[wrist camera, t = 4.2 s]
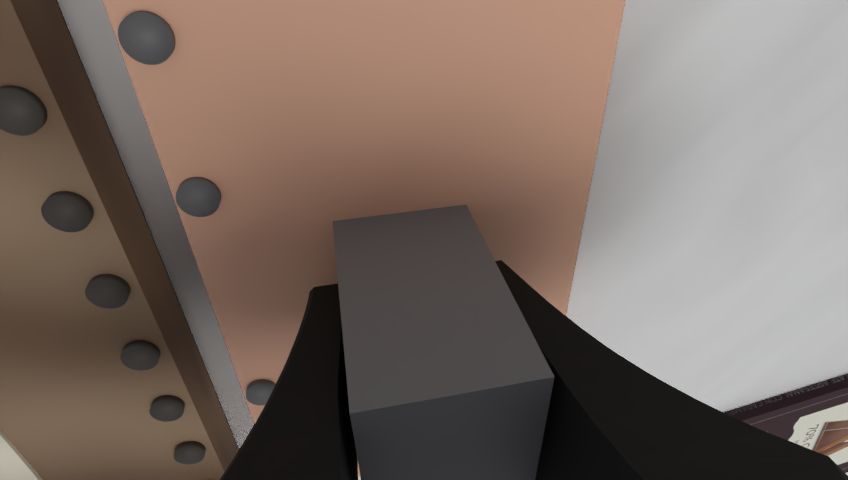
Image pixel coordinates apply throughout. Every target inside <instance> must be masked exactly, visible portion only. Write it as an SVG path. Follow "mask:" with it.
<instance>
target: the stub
mask: <svg viewBox="0 0 848 480" xmlns="http://www.w3.org/2000/svg"><path fill="white" fill-rule="evenodd" d="M103 3H104V6H105V8H106V11H107V14H108V17H109V20H110V22H111V25H112V28H113V31H114V34H115V36H116V39H117V42H118V45H119V47H120V50H121V53H122V56H123V59H124V61H125V64H126V67H127V70H128V73H129V75H130V78H131V81H132V84H133V87H134V89H135V92H136V95H137V98H138V101H139V103H140V106H141V109H142V112H143V115H144V117H145V120H146V123H147V126H148V129H149V131H150V134H151V137H152V140H153V143H154V145H155V148H156V151H157V154H158V157H159V159H160V162H161V165H162V168H163V170H164V173H165V176H166V179H167V182H168V184H169V187H170V190H171V193H172V196H173V198H174V201H175V204H176V207H177V210H178V212H179V215H180V218H181V221H182V224H183V226H184V229H185V232H186V235H187V238H188V240H189V243H190V246H191V249H192V252H193V254H194V257H195V260H196V263H197V266H198V268H199V271H200V274H201V277H202V280H203V282H204V285H205V288H206V291H207V293H208V296H209V299H210V302H211V305H212V307H213V310H214V313H215V316H216V319H217V321H218V324H219V327H220V330H221V333H222V335H223V338H224V341H225V344H226V347H227V349H228V352H229V355H230V358H231V361H232V363H233V366H234V369H235V372H236V375H237V377H238V380H239V383H240V386H241V389H242V391H243V394H244V397H245V400H246V403H247V405H248V408H249V411H250V414H251V416H252V419H253V422H254V424H255V423H256V421H257V419H258V417H259V416H260V414H261V412H262V410H263V408H264V406H265V405H266V403H267V401H268V399H269V397H270V395H271V393H272V391H273V389H274V387H275V385H276V382H277V380H278V378H279V376H280V374H281V372H282V370H283V368H284V366H285V363H286V361H287V359H288V356H289V354H290V351H291V349H292V346H293V344H294V341H295V339H296V336H297V334H298V331H299V328H300V325H301V322H302V319H303V316H304V313H305V309H306V306H307V302H308V297H309V292H310V291H311V290H312V289H313V287H317V286H324V285H331V284H338V289H339V300H340V311H341V322H342V333H343V345H344V356H345V367H346V378H347V390H348V401H349V412H350V419H351V424H352V430H353V436H354V441H355V447H356V453H357V458H358V476H361V480H535V478H536V472H537V467H538V462H539V456H540V451H541V446H542V441H543V435H544V430H545V425H546V419H547V414H548V409H549V404H550V398H551V393H552V388H553V382H554V375H553V373H552V371H551V369H550V367H549V365H548V363H547V361H546V359H545V357H544V355H543V353H542V351H541V350H540V348H539V346H538V344H537V342H536V340H535V338H534V336H533V334H532V332H531V330H530V328H529V326H528V324H527V322H526V320H525V318H524V316H523V315H522V313H521V311H520V309H519V307H518V305H517V303H516V301H515V299H514V297H513V295H512V293H511V291H510V289H509V287H508V285H507V283H506V281H505V279H504V278H503V276H502V274H501V272H500V270H499V268H498V266H497V264H496V262H495V261H498V260H502V261H503V262H504V263H505V264H506V265H508V266H509V267H510V268H511V269H512V270H513V271H514V272H515V273H516V274H518V275H519V276H520V277H521V278H522V279H523V280H524V281H525V282H526V283H528V284H529V285H530V286H531V287H532V288H533V289H534V290H535V291H537V292H538V293H539V294H540V295H541V296H542V297H543V298H545V299H546V300H547V301H548V302H549V303H550V304H552V305H553V306H554V307H555V308H557V309H558V310H559V311H560V312H561V313H563V314H564V315H565V316H566V313H567V307H568V302H569V297H570V291H571V286H572V281H573V276H574V270H575V265H576V260H577V254H578V249H579V244H580V238H581V233H582V228H583V223H584V217H585V212H586V207H587V201H588V196H589V191H590V186H591V180H592V175H593V170H594V164H595V159H596V154H597V149H598V143H599V138H600V133H601V127H602V122H603V117H604V111H605V106H606V101H607V96H608V90H609V85H610V80H611V74H612V69H613V64H614V59H615V53H616V48H617V43H618V37H619V32H620V27H621V22H622V16H623V11H624V6H625V0H103Z"/></svg>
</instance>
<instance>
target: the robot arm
mask: <svg viewBox="0 0 848 480" xmlns="http://www.w3.org/2000/svg"><path fill="white" fill-rule="evenodd" d="M495 262H496V264H497V266H498V268H499V270H500V272H501V274H502V276H503V278H504V279H505V281H506V283H507V285H508V287H509V289H510V291H511V293H512V295H513V297H514V299H515V301H516V303H517V305H518V307H519V309H520V311H521V313H522V315H523V316H524V318H525V320H526V322H527V324H528V326H529V328H530V330H531V332H532V334H533V336H534V338H535V340H536V342H537V344H538V346H539V348H540V350H541V351H542V353H543V355H544V357H545V359H546V361H547V363H548V365H549V367H550V369H551V371H552V373H553V375H554V382H553V388H552V393H551V398H550V404H549V409H548V414H547V419H546V425H545V430H544V435H543V441H542V446H541V451H540V456H539V462H538V467H537V472H536V478H535V480H848V476H847V475H846V474H845V473H844V472H843V471H842V469H841V468H840V467H839V466H838V465H837V464H836V463H835V462H834V461H833V460H832V459H831V458H830V457H829V456H826V455H824V454H821V453H818V452H816V451H813V450H811V449H808V448H806V447H803V446H801V445H798V444H796V443H793V442H791V441H788V440H786V439H783V438H781V437H778V436H775V435H773V434H770V433H768V432H765V431H763V430H761V429H758V428H756V427H754V426H751V425H749V424H747V423H745V422H743V421H740V420H738V419H736V418H734V417H732V416H729V415H727V414H725V413H723V412H721V411H719V410H717V409H714V408H712V407H710V406H708V405H706V404H704V403H702V402H700V401H698V400H696V399H694V398H692V397H690V396H689V395H687V394H685V393H683V392H681V391H679V390H677V389H676V388H674V387H672V386H670V385H668V384H666V383H664V382H663V381H661V380H659V379H657V378H656V377H654V376H652V375H650V374H649V373H647V372H645V371H644V370H642V369H640V368H639V367H637V366H636V365H634V364H633V363H631V362H629V361H628V360H626V359H625V358H623V357H621V356H620V355H618V354H617V353H615V352H614V351H612V350H611V349H609V348H608V347H606V346H605V345H603V344H602V343H601V342H599V341H598V340H596V339H595V338H594V337H592V336H591V335H590V334H588V333H587V332H586V331H584V330H583V329H581V328H580V327H579V326H578V325H576V324H575V323H574V322H572V321H571V320H570V319H569V318H568V317H566V316H565V315H564V314H563V313H561V312H560V311H559V310H558V309H557V308H555V307H554V306H553V305H552V304H550V303H549V302H548V301H547V300H546V299H545V298H543V297H542V296H541V295H540V294H539V293H538V292H537V291H535V290H534V289H533V288H532V287H531V286H530V285H529V284H528V283H526V282H525V281H524V280H523V279H522V278H521V277H520V276H519V275H518V274H516V273H515V272H514V271H513V270H512V269H511V268H510V267H509V266H508V265H506V264H505V263H504V262H503V261H502V260H498V261H495ZM220 480H358V458H357V453H356V447H355V441H354V436H353V430H352V424H351V419H350V412H349V401H348V390H347V378H346V367H345V356H344V345H343V333H342V322H341V311H340V300H339V289H338V284H331V285H324V286H317V287H313V289H312V290H311V291H310V292H309V297H308V302H307V306H306V309H305V313H304V316H303V319H302V322H301V325H300V328H299V331H298V334H297V336H296V339H295V341H294V344H293V346H292V349H291V351H290V354H289V356H288V359H287V361H286V363H285V366H284V368H283V370H282V372H281V374H280V376H279V378H278V380H277V382H276V385H275V387H274V389H273V391H272V393H271V395H270V397H269V399H268V401H267V403H266V405H265V406H264V408H263V410H262V412H261V414H260V416H259V417H258V419H257V421H256V423H255V424H254V426H253V428H252V430H251V431H250V433H249V435H248V436H247V438H246V440H245V441H244V443H243V445H242V446H241V448H240V449H239V451H238V452H237V454H236V455H235V457H234V458H233V460H232V462H231V463H230V465H229V466H228V468H227V469H226V471H225V472H224V474H223V475H222V477H221V478H220Z"/></svg>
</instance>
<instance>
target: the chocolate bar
mask: <svg viewBox="0 0 848 480" xmlns="http://www.w3.org/2000/svg"><path fill="white" fill-rule="evenodd" d="M724 413H725V414H727V415H729V416H732V417H734V418H736V419H738V420H740V421H743V422H745V423H747V424H749V425H751V426H754V427H756V428H758V429H761V430H763V431H765V432H768V433H770V434H773V435H775V436H778V437H781V438H783V439H786V440H788V441H791V442H793V443H796V444H798V445H801V446H803V447H806V448H808V449H811V450H813V451H816V452H818V453H821V454H824V455H826V456H829V457H830V458H831V459H832V460H833V461H834V462H835V463H836V464H837V465H838V466H839V467H840V468H841V469H842V471H843V472H844V473H846V472H848V374H845V375H842V376H839V377H835V378H832V379H829V380H826V381H823V382H819V383H816V384H813V385H810V386H807V387H804V388H800V389H797V390H794V391H791V392H788V393H784V394H781V395H778V396H775V397H772V398H769V399H765V400H762V401H759V402H756V403H753V404H750V405H746V406H743V407H740V408H737V409H734V410H730V411H727V412H724Z"/></svg>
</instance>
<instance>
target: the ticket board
mask: <svg viewBox="0 0 848 480" xmlns="http://www.w3.org/2000/svg"><path fill="white" fill-rule="evenodd" d="M238 451H239V449H238V447H237V444H236V442H235V439H234V437H233V434H232V432H231V430H230V427H229V425H228V422H227V420H226V417H225V415H224V412H223V410H222V407H221V405H220V402H219V400H218V398H217V395H216V393H215V390H214V388H213V385H212V383H211V380H210V378H209V375H208V373H207V371H206V368H205V366H204V363H203V361H202V358H201V356H200V353H199V351H198V348H197V346H196V343H195V341H194V339H193V336H192V334H191V331H190V329H189V326H188V324H187V321H186V319H185V316H184V314H183V311H182V309H181V307H180V304H179V302H178V299H177V297H176V294H175V292H174V289H173V287H172V284H171V282H170V279H169V277H168V275H167V272H166V270H165V267H164V265H163V262H162V260H161V257H160V255H159V252H158V250H157V247H156V245H155V243H154V240H153V238H152V235H151V233H150V230H149V228H148V225H147V223H146V220H145V218H144V215H143V213H142V211H141V208H140V206H139V203H138V201H137V198H136V196H135V193H134V191H133V188H132V186H131V184H130V181H129V179H128V176H127V174H126V171H125V169H124V166H123V164H122V161H121V159H120V156H119V154H118V152H117V149H116V147H115V144H114V142H113V139H112V137H111V134H110V132H109V129H108V127H107V124H106V122H105V120H104V117H103V115H102V112H101V110H100V107H99V105H98V102H97V100H96V97H95V95H94V92H93V90H92V88H91V85H90V83H89V80H88V78H87V75H86V73H85V70H84V68H83V65H82V63H81V60H80V58H79V56H78V53H77V51H76V48H75V46H74V43H73V41H72V38H71V36H70V33H69V31H68V29H67V26H66V24H65V21H64V19H63V16H62V14H61V11H60V9H59V6H58V4H57V1H56V0H0V480H220V478H221V477H222V475H223V474H224V472H225V471H226V469H227V468H228V466H229V465H230V463H231V462H232V460H233V458H234V457H235V455H236V454H237V452H238Z"/></svg>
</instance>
